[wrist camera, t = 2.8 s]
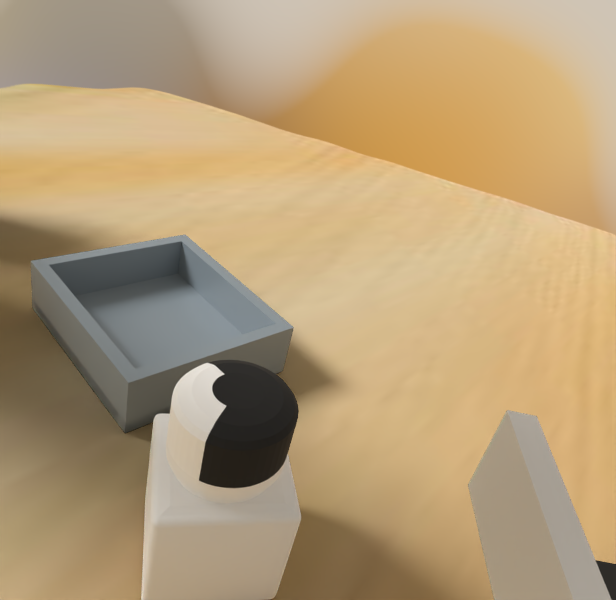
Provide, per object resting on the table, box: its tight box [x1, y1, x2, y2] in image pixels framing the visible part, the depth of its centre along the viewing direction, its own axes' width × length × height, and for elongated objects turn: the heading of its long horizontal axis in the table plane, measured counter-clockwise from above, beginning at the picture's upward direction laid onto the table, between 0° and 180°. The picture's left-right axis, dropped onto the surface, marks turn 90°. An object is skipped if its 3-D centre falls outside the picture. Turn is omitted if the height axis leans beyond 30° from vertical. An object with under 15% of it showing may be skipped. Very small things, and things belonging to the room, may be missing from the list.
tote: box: [31, 235, 294, 433], centre depth 47 cm, size 16×14×4 cm
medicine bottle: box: [141, 360, 301, 600], centre depth 31 cm, size 7×7×12 cm
